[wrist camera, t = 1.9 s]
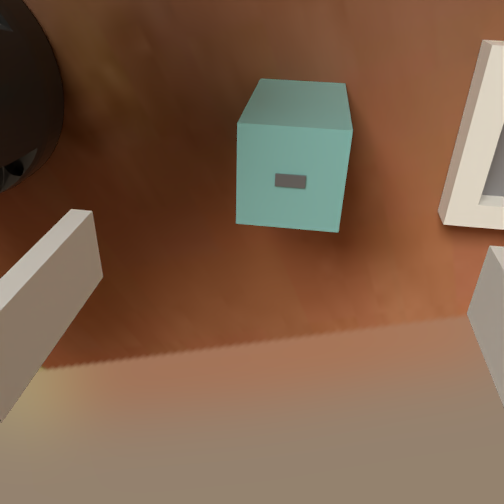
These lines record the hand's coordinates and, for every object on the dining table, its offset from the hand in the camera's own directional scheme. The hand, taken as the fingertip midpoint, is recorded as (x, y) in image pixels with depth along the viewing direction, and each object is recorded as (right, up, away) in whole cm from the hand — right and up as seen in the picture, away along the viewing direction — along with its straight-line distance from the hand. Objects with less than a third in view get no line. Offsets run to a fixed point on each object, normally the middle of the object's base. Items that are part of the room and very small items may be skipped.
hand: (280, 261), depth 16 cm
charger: (+2, +8, +13) cm, 16 cm away
